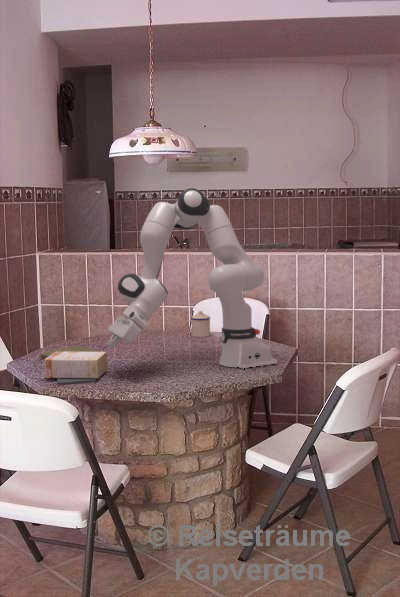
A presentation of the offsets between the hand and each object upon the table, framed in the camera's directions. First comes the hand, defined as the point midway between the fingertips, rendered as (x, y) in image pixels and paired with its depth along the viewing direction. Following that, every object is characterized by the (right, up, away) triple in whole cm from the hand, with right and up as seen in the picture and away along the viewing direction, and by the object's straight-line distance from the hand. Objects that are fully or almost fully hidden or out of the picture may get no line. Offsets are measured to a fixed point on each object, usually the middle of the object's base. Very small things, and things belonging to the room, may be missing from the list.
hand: (108, 346), depth 266 cm
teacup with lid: (+32, 0, +81) cm, 87 cm away
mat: (-12, -12, +1) cm, 17 cm away
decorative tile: (-19, -8, +36) cm, 41 cm away
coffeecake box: (-2, -7, +2) cm, 8 cm away
